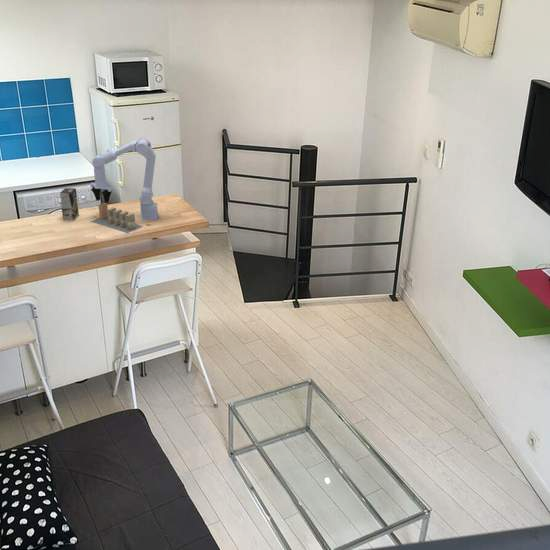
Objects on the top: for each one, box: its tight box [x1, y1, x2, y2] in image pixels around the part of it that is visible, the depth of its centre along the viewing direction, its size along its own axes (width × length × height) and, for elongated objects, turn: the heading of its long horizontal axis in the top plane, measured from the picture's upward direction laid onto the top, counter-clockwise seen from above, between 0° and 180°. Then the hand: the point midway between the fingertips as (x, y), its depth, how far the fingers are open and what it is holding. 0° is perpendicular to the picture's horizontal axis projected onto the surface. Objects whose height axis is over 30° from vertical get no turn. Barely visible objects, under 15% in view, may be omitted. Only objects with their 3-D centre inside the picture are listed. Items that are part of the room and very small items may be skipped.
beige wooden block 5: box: [126, 212, 136, 230], centre depth 332 cm, size 2×4×8 cm, turn 147°
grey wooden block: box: [113, 209, 123, 226], centre depth 336 cm, size 2×4×8 cm, turn 147°
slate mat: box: [90, 217, 144, 234], centre depth 339 cm, size 28×12×1 cm, turn 57°
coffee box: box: [59, 187, 80, 222], centre depth 342 cm, size 9×6×16 cm
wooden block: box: [119, 210, 129, 228], centre depth 334 cm, size 2×4×8 cm, turn 147°
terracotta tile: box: [98, 202, 109, 219], centre depth 345 cm, size 2×4×8 cm, turn 147°
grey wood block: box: [107, 206, 117, 224], centre depth 339 cm, size 2×4×8 cm, turn 147°
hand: (102, 201), depth 343 cm, fingers open, 6 cm apart
